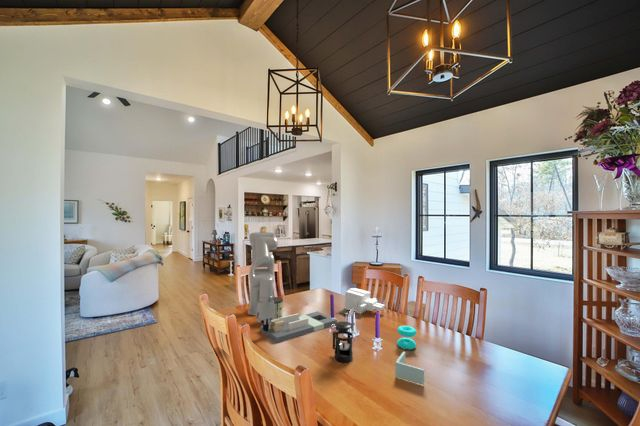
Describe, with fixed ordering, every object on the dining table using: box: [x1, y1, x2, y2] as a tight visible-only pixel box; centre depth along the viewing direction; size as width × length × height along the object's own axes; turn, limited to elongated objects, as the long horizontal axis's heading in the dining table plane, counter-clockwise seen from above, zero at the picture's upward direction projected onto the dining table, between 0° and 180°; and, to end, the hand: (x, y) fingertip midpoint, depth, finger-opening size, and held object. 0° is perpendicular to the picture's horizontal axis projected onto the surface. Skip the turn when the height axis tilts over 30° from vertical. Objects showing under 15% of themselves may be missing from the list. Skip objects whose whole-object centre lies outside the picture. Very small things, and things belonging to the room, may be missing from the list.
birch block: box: [269, 318, 284, 332], centre depth 169 cm, size 6×6×5 cm
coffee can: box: [272, 296, 284, 320], centre depth 191 cm, size 10×10×14 cm
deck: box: [259, 311, 338, 344], centre depth 180 cm, size 20×45×7 cm, turn 129°
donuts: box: [396, 325, 417, 350], centre depth 156 cm, size 10×10×10 cm
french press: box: [332, 311, 354, 364], centre depth 143 cm, size 12×9×23 cm
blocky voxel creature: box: [344, 287, 386, 315], centre depth 212 cm, size 15×25×28 cm
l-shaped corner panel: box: [395, 351, 425, 386], centre depth 128 cm, size 12×12×8 cm
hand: (265, 330), depth 164 cm, fingers closed
